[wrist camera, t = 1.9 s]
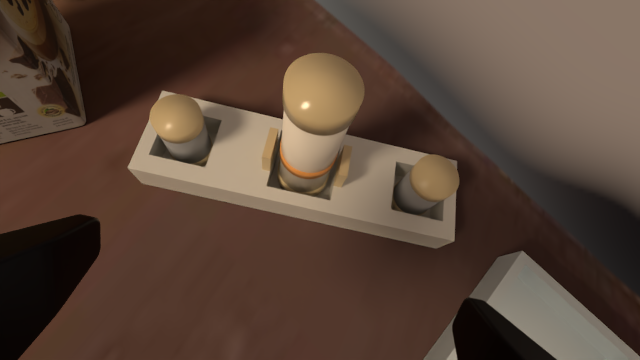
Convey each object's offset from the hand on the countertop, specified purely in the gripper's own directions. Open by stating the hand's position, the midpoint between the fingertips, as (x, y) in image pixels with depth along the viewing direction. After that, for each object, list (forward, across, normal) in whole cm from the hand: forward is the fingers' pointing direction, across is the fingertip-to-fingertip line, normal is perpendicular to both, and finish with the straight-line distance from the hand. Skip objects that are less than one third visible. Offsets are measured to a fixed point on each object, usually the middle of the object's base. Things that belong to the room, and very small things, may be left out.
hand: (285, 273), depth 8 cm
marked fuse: (+15, 0, +4) cm, 15 cm away
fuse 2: (+15, -8, +4) cm, 17 cm away
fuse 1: (+15, +8, +4) cm, 17 cm away
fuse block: (+15, 0, +4) cm, 16 cm away
